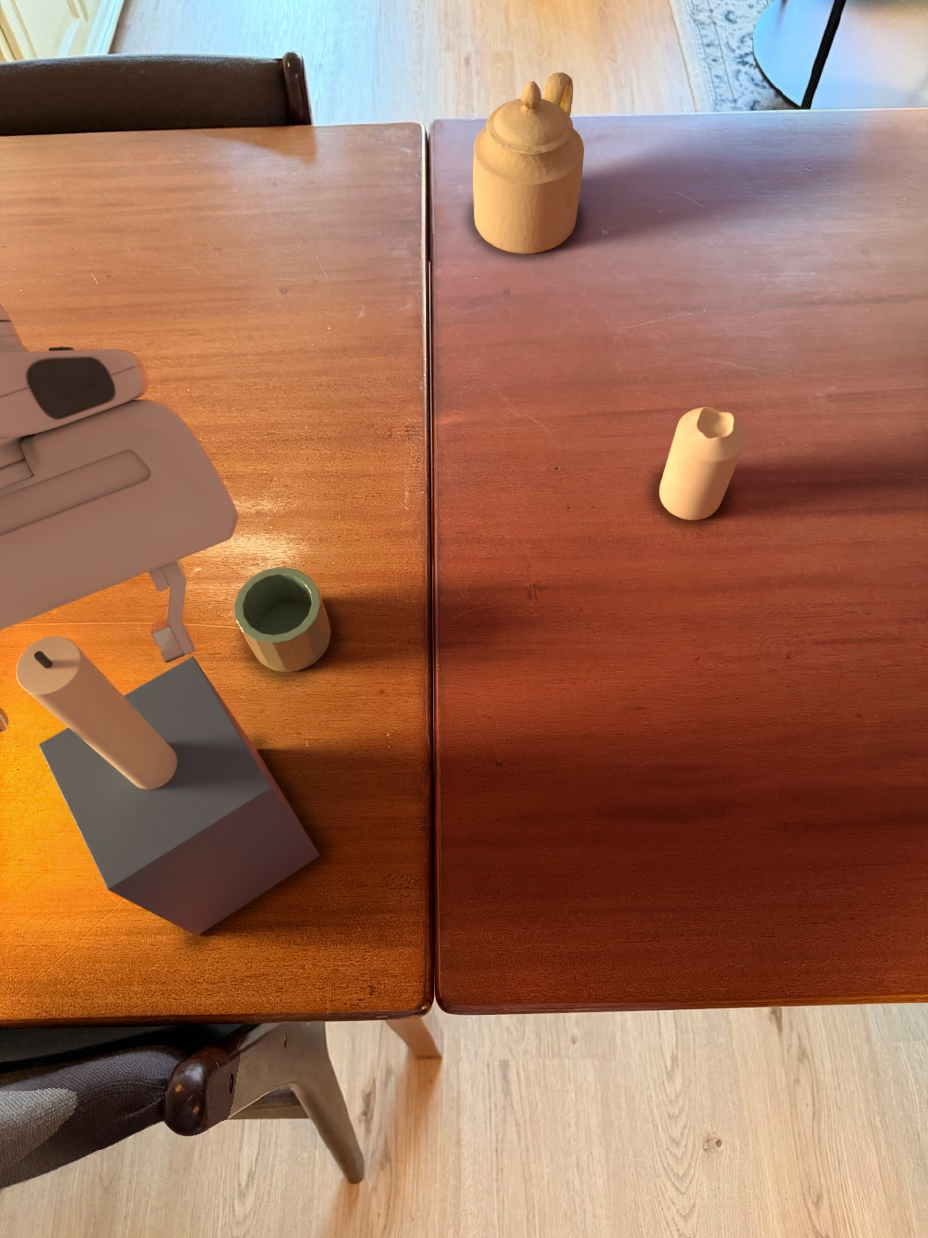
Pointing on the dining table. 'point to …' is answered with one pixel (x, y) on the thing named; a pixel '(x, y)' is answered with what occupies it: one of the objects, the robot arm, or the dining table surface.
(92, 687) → the taper
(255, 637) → the holder
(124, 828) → the riser
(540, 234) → the sugar bowl
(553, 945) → the dining table surface
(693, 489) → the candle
